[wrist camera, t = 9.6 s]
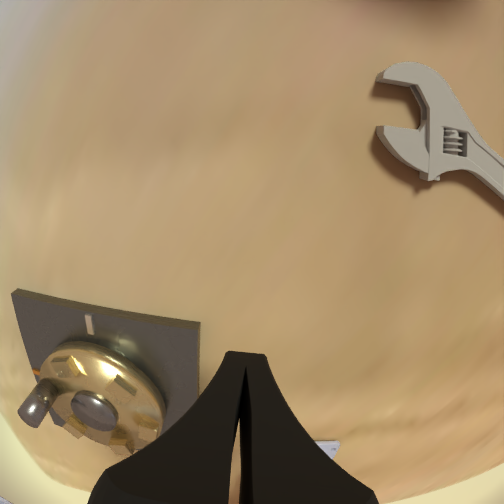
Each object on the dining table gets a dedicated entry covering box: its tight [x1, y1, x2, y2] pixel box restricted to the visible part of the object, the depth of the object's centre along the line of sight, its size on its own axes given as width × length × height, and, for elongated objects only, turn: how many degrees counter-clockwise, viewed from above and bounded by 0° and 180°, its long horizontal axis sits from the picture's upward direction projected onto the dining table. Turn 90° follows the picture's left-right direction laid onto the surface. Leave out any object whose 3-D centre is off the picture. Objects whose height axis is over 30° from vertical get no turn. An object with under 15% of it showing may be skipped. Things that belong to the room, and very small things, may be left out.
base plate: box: [11, 289, 200, 450], centre depth 23 cm, size 16×16×1 cm
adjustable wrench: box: [376, 62, 504, 200], centre depth 17 cm, size 25×6×2 cm, turn 64°
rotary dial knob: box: [18, 341, 166, 455], centre depth 19 cm, size 11×11×6 cm
